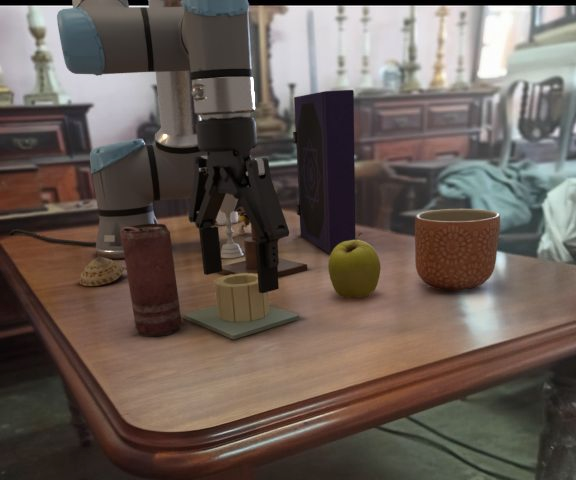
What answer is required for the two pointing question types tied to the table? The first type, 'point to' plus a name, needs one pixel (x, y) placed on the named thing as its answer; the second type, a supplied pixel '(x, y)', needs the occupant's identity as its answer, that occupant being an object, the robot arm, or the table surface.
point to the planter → (456, 247)
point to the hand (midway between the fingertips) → (239, 281)
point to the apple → (354, 268)
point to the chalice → (229, 228)
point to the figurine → (242, 218)
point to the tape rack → (251, 263)
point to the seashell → (100, 272)
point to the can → (151, 278)
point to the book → (326, 167)
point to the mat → (239, 329)
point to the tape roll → (240, 298)
